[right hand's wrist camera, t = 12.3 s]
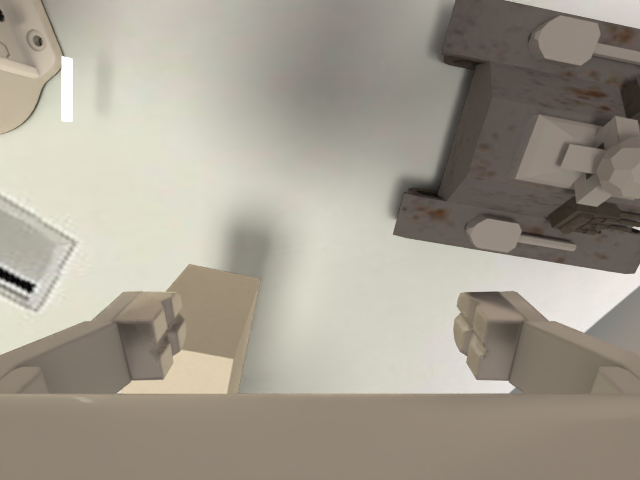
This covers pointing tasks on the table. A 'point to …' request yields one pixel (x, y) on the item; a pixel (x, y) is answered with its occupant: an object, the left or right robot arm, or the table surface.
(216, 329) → the box
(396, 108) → the table surface
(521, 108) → the toy
